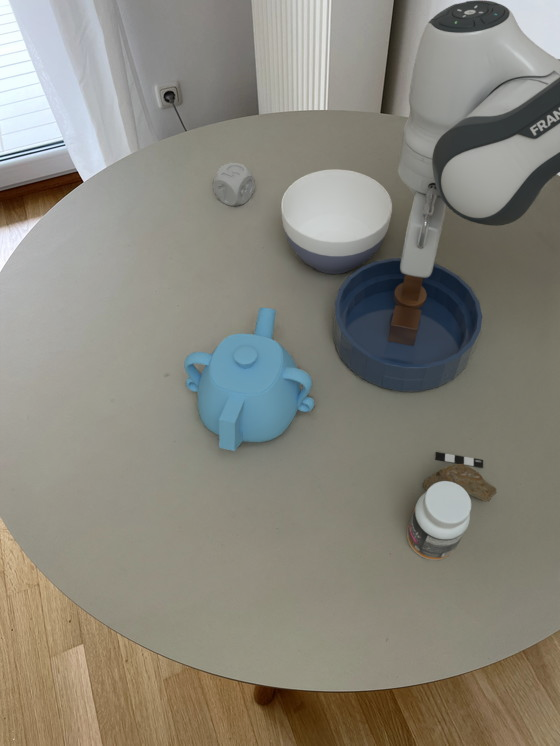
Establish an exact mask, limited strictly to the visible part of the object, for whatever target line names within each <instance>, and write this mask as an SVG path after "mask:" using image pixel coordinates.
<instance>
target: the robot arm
mask: <svg viewBox="0 0 560 746" xmlns="http://www.w3.org/2000/svg"><path fill="white" fill-rule="evenodd" d="M408 104H409V114H408V117H407V119H406V121H405V123H404V127H403V131H402V137H401V144H400V151H399V156H398V157H399V158H398V165H397V172H398V175H399V178H400V179H401V181H402V182H403V183H404V184H405V185H406V186H407V188H408V190H410V192H411V193H413V194H414V197H413V202H412V206H411V210H410V213H409V217H408V222H407V227H406V232H405V237H404V243H403V247H402V252H401V257H400V258H401V263H400V271H401V273H403V274H405V275H410V276H414V277H421V278H428V277H429V276H430V275H431V273H432V270H433V266H434V263H435V261H436V258H437V252H438V250H439V249H438V248H439V245H440V240H441V235H442V231H443V226H444V221H445V216H446V211H447V208H448V209H449V210H451V211H452V212H453V213H454V214H456V215H457V216H458V217H461V218H462V219H464V220H466V221H468V222H471V223H475V224H478V225H483V226H493V227H494V226H495V227H498V226H506V225H509V224H512V223H514V222H516V221H517V220H519V219H521V218H522V217H523V216H524V215H525V214H526V212H527V211H528V210H529V209H530V207H531V206H532V205H533V204H534V202H535V201H536V199H537V198H538V196H539V194H540V193H541V192H542V190H544V188H546V186H547V185H548V183H549V182H550V181H551V180H552V179H553V178H554V177H555V176H557V175H558V174H559V173H560V59H559V58H556V57H554V56H553V55H551V54H550V53H548V52H547V51H546V50H544V49H543V48H542V47H540V46H539V45H538V44H536V43H535V42H534V41H533V40H532V39H531V38H529V36H527V34H525V33H524V31H523V30H522V29H521V27H520V26H519V24H518V22H517V21H516V18H515V16H514V14H513V12H512V11H511V10H510V9H509V8H508V7H507V6H505V5H503V4H501V3H498V2H497V1H493V0H492V1H491V0H466V1H463V2H459V3H454V4H452V5H449V6H448V7H446V8H444V9H443V10H441V11H440V12H438V13H437V14H435V15H433V17H432V18H431V19H430V20H429V21H428V22H427V24H426V25H425V27H424V30H423V32H422V34H421V37H420V39H419V44H418V47H417V51H416V54H415V59H414V63H413V67H412V73H411V79H410V84H409V91H408Z"/></svg>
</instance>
